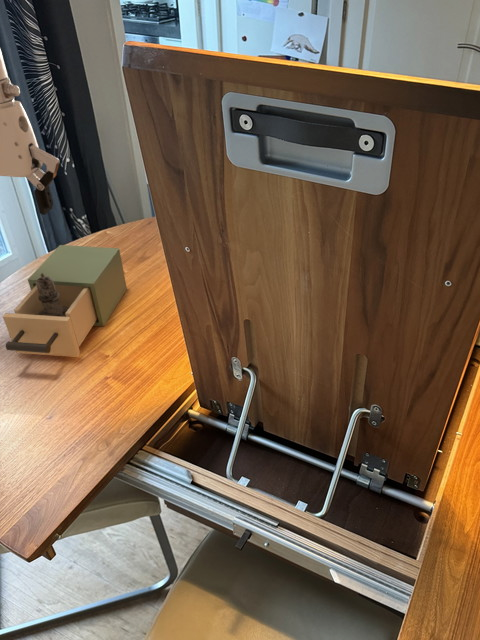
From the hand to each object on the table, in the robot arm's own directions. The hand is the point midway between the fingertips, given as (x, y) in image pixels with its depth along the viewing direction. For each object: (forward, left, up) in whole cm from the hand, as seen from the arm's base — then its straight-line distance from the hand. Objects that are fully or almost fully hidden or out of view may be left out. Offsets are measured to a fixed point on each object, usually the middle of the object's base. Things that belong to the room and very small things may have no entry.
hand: (17, 209), depth 84 cm
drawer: (+2, -4, -23) cm, 24 cm away
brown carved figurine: (+2, -2, -23) cm, 23 cm away
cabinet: (+2, +10, -24) cm, 26 cm away
